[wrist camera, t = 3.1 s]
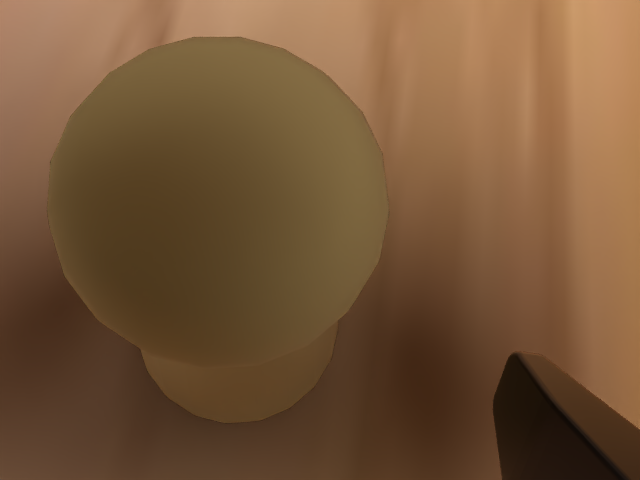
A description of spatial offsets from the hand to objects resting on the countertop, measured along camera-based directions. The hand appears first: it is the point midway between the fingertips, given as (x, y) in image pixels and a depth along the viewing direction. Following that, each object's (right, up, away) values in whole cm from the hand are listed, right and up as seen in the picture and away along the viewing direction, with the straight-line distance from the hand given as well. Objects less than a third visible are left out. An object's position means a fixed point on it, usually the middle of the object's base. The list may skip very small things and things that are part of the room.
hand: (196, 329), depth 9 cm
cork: (-1, -1, +10) cm, 10 cm away
